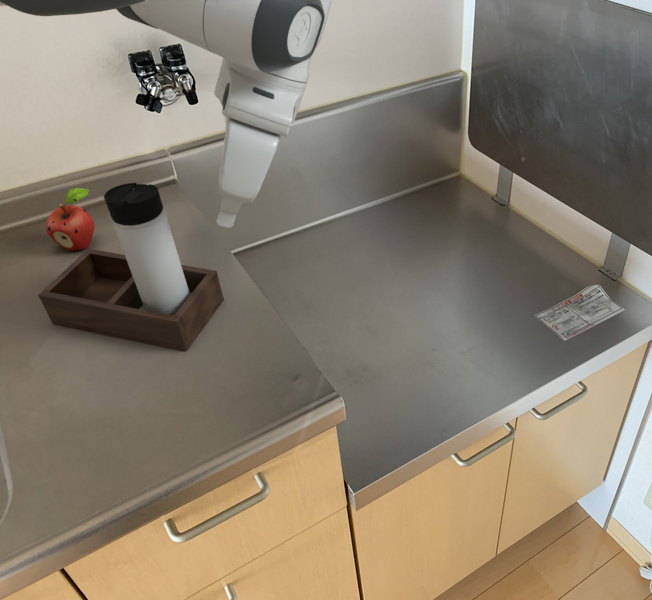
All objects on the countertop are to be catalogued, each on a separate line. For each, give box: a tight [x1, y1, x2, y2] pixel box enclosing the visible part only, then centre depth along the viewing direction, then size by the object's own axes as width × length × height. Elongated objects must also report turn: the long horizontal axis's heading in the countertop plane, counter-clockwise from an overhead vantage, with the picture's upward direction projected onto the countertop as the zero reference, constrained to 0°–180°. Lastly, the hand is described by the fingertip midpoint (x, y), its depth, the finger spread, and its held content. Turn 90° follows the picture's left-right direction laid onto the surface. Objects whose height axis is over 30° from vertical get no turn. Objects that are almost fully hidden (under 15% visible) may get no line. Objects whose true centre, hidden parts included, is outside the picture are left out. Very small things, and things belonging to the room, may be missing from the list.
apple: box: [45, 187, 96, 251], centre depth 97 cm, size 8×7×10 cm
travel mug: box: [103, 182, 190, 316], centre depth 80 cm, size 6×7×20 cm
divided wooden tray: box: [37, 248, 225, 352], centre depth 87 cm, size 11×21×6 cm, turn 75°
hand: (225, 209), depth 71 cm, fingers open, 8 cm apart
